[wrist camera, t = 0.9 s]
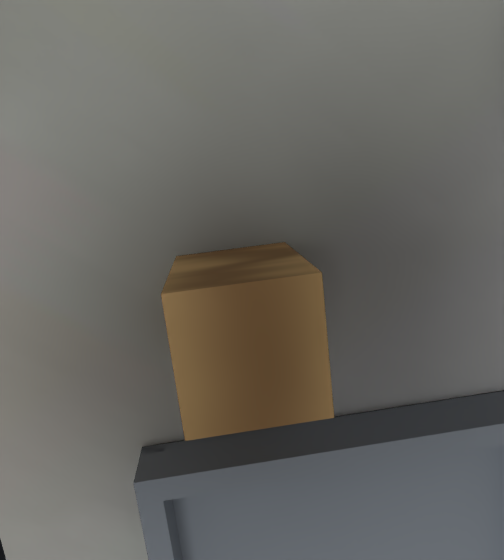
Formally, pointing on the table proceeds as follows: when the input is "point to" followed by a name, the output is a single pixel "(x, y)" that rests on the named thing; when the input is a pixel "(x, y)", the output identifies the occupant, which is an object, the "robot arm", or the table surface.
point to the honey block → (247, 340)
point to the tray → (334, 488)
